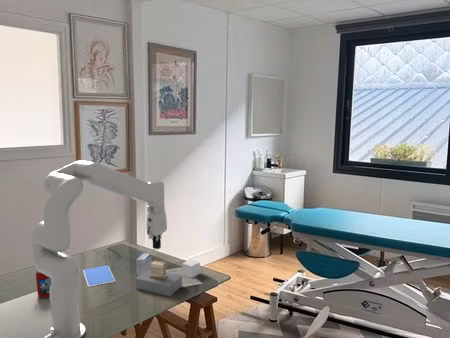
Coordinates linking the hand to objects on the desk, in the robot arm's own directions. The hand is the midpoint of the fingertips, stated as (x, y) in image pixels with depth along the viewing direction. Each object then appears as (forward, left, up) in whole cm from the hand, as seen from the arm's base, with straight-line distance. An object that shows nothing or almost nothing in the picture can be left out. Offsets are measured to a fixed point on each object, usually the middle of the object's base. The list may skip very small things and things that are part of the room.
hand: (156, 248), depth 185 cm
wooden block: (0, 0, -19) cm, 19 cm away
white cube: (+18, -7, -20) cm, 28 cm away
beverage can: (-26, +42, -20) cm, 53 cm away
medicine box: (+10, +15, -20) cm, 27 cm away
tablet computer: (-2, +33, -20) cm, 39 cm away
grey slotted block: (0, 0, -19) cm, 19 cm away
